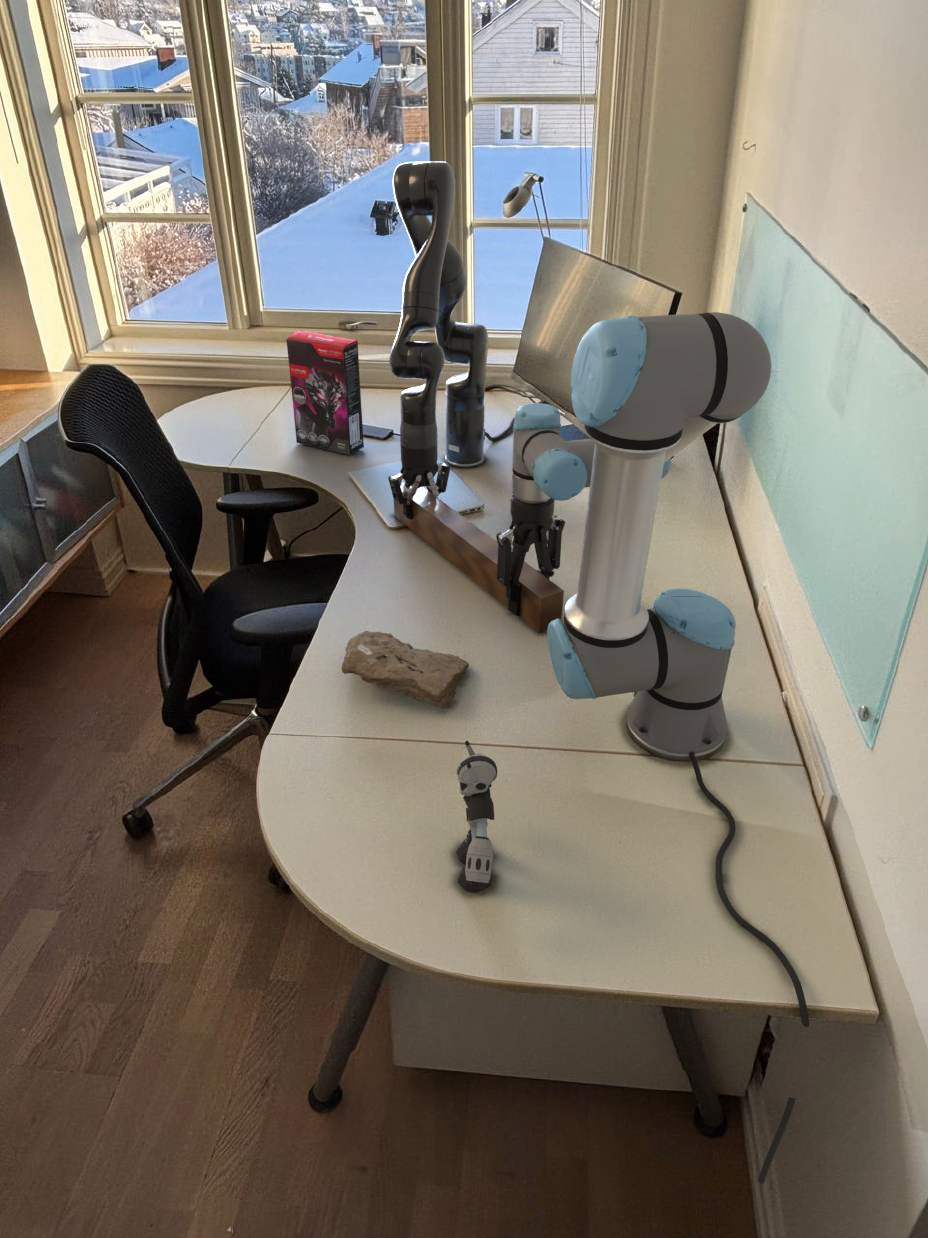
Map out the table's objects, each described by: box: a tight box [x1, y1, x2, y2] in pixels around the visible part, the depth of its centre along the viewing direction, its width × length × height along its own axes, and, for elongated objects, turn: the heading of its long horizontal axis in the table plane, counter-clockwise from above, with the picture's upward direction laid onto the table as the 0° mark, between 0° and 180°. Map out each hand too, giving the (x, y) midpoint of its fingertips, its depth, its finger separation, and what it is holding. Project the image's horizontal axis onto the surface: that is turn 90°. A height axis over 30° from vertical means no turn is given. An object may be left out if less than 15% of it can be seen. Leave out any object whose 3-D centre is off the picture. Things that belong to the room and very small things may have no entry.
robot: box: [455, 740, 498, 893], centre depth 114 cm, size 20×5×20 cm, turn 3°
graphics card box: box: [285, 330, 365, 456], centre depth 225 cm, size 17×7×27 cm, turn 62°
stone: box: [341, 630, 470, 709], centre depth 151 cm, size 21×15×6 cm
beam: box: [393, 482, 565, 634], centre depth 182 cm, size 53×5×7 cm, turn 33°
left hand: (420, 514), depth 196 cm, fingers closed on beam, 5 cm apart
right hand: (526, 607), depth 171 cm, fingers closed on beam, 5 cm apart
